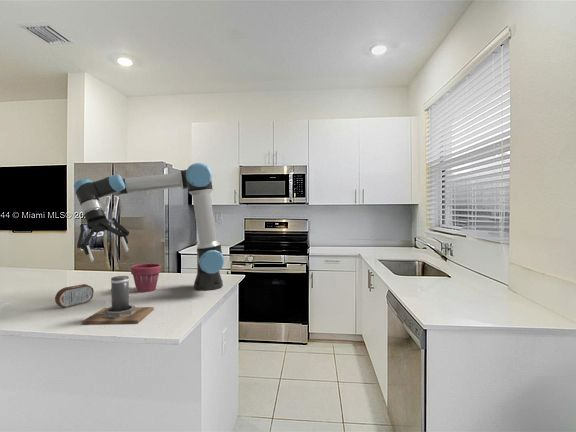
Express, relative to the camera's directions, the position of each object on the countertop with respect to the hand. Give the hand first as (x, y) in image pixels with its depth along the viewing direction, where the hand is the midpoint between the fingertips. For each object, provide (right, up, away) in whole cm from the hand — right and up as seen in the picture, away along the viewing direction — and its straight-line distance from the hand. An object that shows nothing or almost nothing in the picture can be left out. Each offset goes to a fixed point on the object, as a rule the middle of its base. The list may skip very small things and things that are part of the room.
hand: (110, 255), depth 137 cm
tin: (-18, -22, +5) cm, 29 cm away
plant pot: (+2, -22, +31) cm, 38 cm away
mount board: (+10, -22, -11) cm, 27 cm away
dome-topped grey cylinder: (+10, -21, -11) cm, 26 cm away
